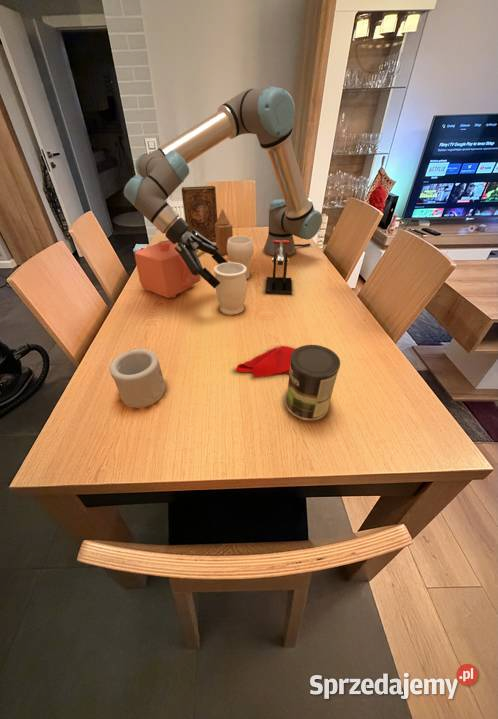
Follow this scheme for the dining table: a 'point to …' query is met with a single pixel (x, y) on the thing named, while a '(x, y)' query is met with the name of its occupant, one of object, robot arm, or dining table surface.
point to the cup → (240, 251)
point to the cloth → (269, 362)
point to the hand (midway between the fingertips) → (223, 276)
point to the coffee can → (311, 381)
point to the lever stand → (279, 280)
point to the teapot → (164, 270)
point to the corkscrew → (280, 256)
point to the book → (201, 210)
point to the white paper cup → (231, 286)
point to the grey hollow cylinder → (138, 377)
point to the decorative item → (223, 232)
